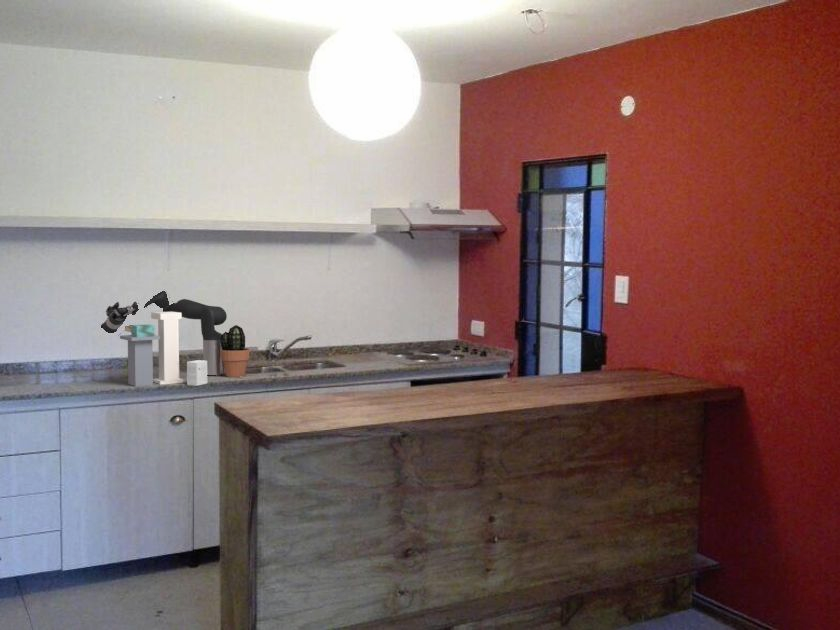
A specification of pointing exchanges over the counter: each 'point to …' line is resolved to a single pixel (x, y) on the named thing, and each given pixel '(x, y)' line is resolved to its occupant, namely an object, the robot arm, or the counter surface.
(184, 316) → the robot arm
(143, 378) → the pedestal
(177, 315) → the tall stand
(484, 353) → the counter surface
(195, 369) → the small box
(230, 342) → the potted plant
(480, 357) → the counter surface
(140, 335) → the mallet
